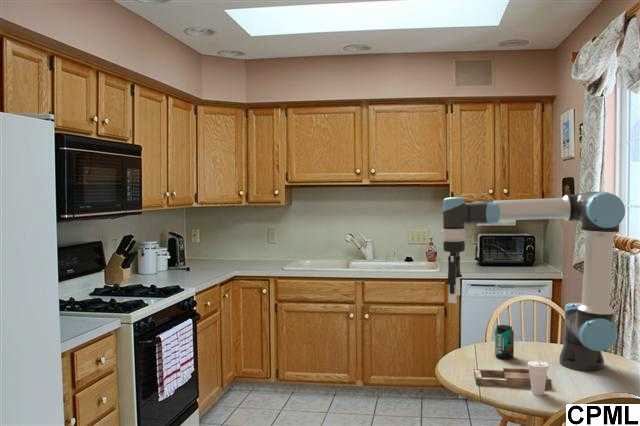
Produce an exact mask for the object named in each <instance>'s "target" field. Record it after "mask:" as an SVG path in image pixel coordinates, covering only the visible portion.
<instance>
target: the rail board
mask: <svg viewBox="0 0 640 426" xmlns="http://www.w3.org/2000/svg"><path fill="white" fill-rule="evenodd" d="M473 376H474V380H475V381H474V382H475V384H476V385H477V386H478V385H479V386H480V385H481V386H497V387H513V388H515V387H516V388H530V389H531V381H530V373H529V368H520V367H515V368H514V367H503V369H502V370H501V369H481V368H477V369H476V368H474V369H473ZM488 377H489V378H488ZM491 377H492V378H491ZM493 377H498V378H493ZM499 377H500V378H499ZM501 377H502V378H501ZM545 389H550V390H552V379H551V378H549V377H548V375H547V376H546V383H545Z"/></svg>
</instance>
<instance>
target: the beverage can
mask: <svg viewBox="0 0 640 426" xmlns="http://www.w3.org/2000/svg"><path fill="white" fill-rule="evenodd" d="M514 335H515V333H514V329H513V326H511V325H509V324H508V325H506V324H498V325H496V328H495V329H494V356H495V357H496V358H498V359H501V360H511V359H513V358H514V356H515V355H514V354H515V353H514V348H515V346H514V345H515V343H514V341H515V340H514V339H515V338H514V337H515V336H514Z"/></svg>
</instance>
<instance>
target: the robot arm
mask: <svg viewBox="0 0 640 426" xmlns="http://www.w3.org/2000/svg"><path fill="white" fill-rule="evenodd" d="M442 203H443V204H442V223H443V224H442V226H443V229H442V231H441V234H443V236H442V237H443V242H442V243H443V247H442V249H443V251H444V252H446V253H449V255H448V257H447V262H448V264H447V265H448V268H447V271H448V272H447V281H446V282H445V284H446V285H447V289H448V297H447V299H448V301H447V302H448V304H457V296H461V278H463V274H461V255H460V254H461V253H462V252H463V253H464V252H465V250H466V245H465V244H466V241H465V239H466V229H465V228H466V226H465V225H466V224H467V225H469V224H473V225H475V224H477V225H478V224H481V225H482V224H485V225H486V224H488V225H491V224H492V225H493V224H498V223H499V222H500V221H520V220H521V221H522V220H548V219H549V220H552V219H553V220H555V219H556V220H557V219H563V220H565V222H580V223H581V227H580V231H581V232H582V233H583V234H584V235H585V240H584V241H585V242H584V243H585V244H584V259H583V260H584V261H583V274H582V276H583V277H582V293H581V302H569V303H567V304H565V307H564V312H563V313H564V343H563V346H562V348H561V352H560V354H559V362H558V363H560V365H562V366H564V367H565V368H568V369H572V370H578V371H585V372H586V371H587V372H592V371H601V370H603V369H605V359H604V357H603V353H602V352H603V351H606V350H608V349H610V348H611V347H613V346H614V345H615V344H616V342H617V340H618V330H617V328H616V326H615V324H614V319H615V317H614V316H615V311H614V309H612V307H610V302H611V287H612V270H613V253H614V239H615V238H614V237H616V235H618V234H619V232H620V224H621V222H622V221H623V219H624V218H625V216H626V207H625V204H624V202H623V201H622V199H621V198H620V197H618V196H617V195H616V194H614V193H612V192H611V193H610V192H608V191H607V192H606V191H588V192H587V191H586V192H582V193H581V192H580V193H576V194H565V195H564V196H562V197H554V198H553V197H552V198H548V197H547V198H529V199H528V198H527V199H504V200H502V199H501V200H475V201H472V202H466V201H465V198H464V197H462V196H461V197H459V196H458V197H454V196H453V197H446V198H444V199H443V201H442Z"/></svg>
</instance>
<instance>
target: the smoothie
mask: <svg viewBox="0 0 640 426" xmlns="http://www.w3.org/2000/svg"><path fill="white" fill-rule="evenodd" d="M527 367H528V369H529V373H530V381H531V388H530V389H531V393H532V394H533V395H536V396H542V395H543V396H544V395H545V390H546V388H545V383H546V376H548V369H549V368H550V367H549V363H547V362H545V361H542V360H541V350H538V359H537V360H529V361H528V362H527Z"/></svg>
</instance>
